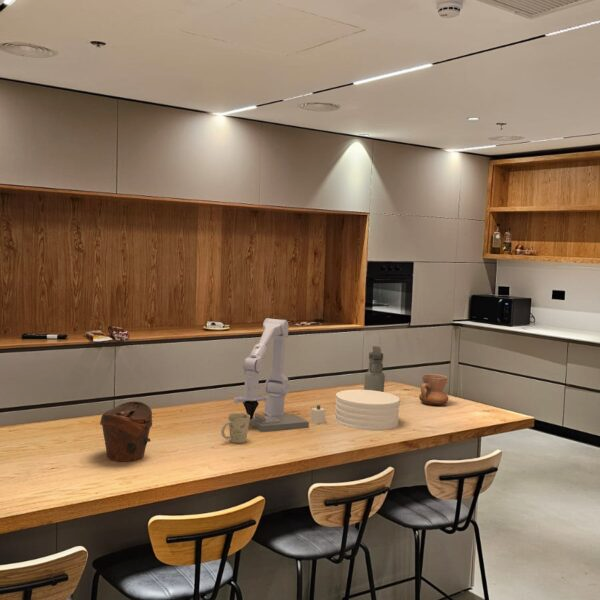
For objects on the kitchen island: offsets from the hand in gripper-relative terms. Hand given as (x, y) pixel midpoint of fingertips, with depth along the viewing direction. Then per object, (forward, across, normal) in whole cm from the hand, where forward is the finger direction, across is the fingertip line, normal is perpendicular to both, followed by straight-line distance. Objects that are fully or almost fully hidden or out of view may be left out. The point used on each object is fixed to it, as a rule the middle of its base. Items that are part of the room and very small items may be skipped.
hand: (249, 418), depth 291 cm
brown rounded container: (+4, -57, -20) cm, 60 cm away
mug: (+4, -14, -16) cm, 22 cm away
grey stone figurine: (+4, +77, +22) cm, 80 cm away
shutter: (+1, +8, 0) cm, 8 cm away
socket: (+4, +13, 0) cm, 14 cm away
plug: (+4, +32, -1) cm, 32 cm away
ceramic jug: (+4, +107, +13) cm, 108 cm away
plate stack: (+4, +54, -6) cm, 55 cm away
